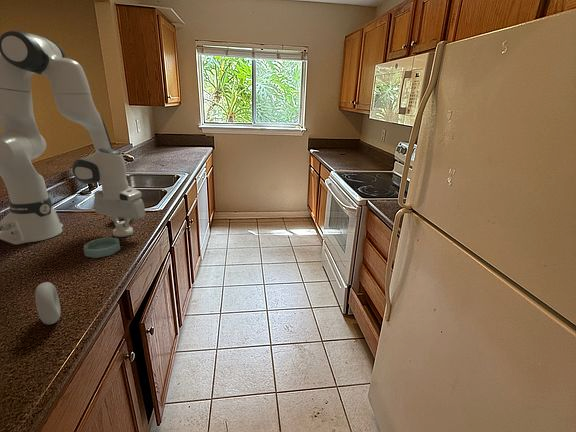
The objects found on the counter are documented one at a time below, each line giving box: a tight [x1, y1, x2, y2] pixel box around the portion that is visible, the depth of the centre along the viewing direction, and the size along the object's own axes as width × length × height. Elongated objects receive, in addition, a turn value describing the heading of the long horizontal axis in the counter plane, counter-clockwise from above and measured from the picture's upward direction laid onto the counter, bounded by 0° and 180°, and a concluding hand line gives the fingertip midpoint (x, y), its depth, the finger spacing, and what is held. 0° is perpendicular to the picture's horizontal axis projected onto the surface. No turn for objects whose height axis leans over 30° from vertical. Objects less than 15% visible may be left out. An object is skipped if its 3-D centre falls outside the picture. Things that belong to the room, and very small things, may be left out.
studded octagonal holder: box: [83, 236, 121, 259], centre depth 110 cm, size 11×11×2 cm
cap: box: [112, 220, 134, 238], centre depth 123 cm, size 7×7×4 cm
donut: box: [34, 281, 62, 326], centre depth 74 cm, size 10×4×10 cm, turn 32°
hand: (122, 226), depth 123 cm, fingers closed on cap, 2 cm apart
